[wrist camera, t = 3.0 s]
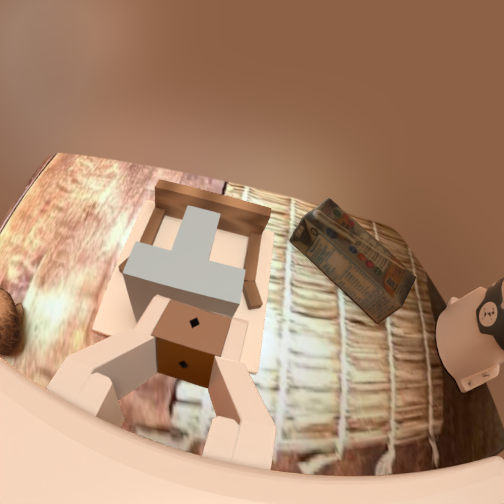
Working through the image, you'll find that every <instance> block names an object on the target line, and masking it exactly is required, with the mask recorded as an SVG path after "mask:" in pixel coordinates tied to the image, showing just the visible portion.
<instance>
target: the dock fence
mask: <svg viewBox="0 0 504 504" xmlns="http://www.w3.org/2000/svg"><path fill="white" fill-rule="evenodd" d="M188 205H189V206H193V207H197V208H201V209H205V210H209V211H213V212H216V213H220V218H219V222H218V226H217V229H220V230H224V231H228V232H231V233H235V234H239V235H243V236H247V237H249V240H248V246H247V251H246V257H245V263H244V269H245V270H246V271H245V277H244V283H243V289H242V291H243V294H244V297H245V301H246V304H247V307H248V310H252V309H257V308H260V307H261V306H262V305H263V302H262V299H261V297H260V294H259V291H258V288H257V285H256V282H255V280H256V273H257V266H258V259H259V251H260V244H261V237H262V233H263V231H264V229H265V227H266V225H267V223H268V220H269V218H270V214H271V208H268V207H265V206H261V205H257V204H254V203H250V202H247V201H243V200H239V199H236V198H232V197H228V196H224V195H220V194H217V193H213V192H209V191H205V190H201V189H197V188H193V187H189V186H185V185H181V184H177V183H173V182H168V181H164V180H160V179H159V181H158V182H157V184H156V186H155V208H154V210H153V212H152V215H151V217H150V219H149V221H148V223H147V225H146V228H145V230H144V232H143V235H142V237H141V239H140V241H139V242H141V243H145V244H148V245H152V246H153V243H154V241H155V238H156V236H157V233H158V231H159V229H160V226H161V224H162V221H163V219H164V217H165V216H169V217H173V218H177V219H181V220H182V219H183V217H184V214H185V211H186V209H187V206H188ZM128 258H129V257H128ZM128 258H127V259H126V260H125V261H123V262H122V263H121V264H120V265H119V266H118V267H119V271H120V272H121V273H122V274H123V270H124V268H125V265H126V263H127V260H128Z"/></svg>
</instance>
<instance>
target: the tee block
mask: <svg viewBox="0 0 504 504" xmlns="http://www.w3.org/2000/svg"><path fill="white" fill-rule="evenodd" d="M219 218H220V213H216V212H213V211H209V210H205V209H201V208H197V207H193V206H189V205H188V206H187V209H186V211H185V214H184V217H183V219H182V222H181V225H180V227H179V230H178V233H177V236H176V238H175V241H174V244H173V247H172V250H167V249H163V248H160V247H156V246H152V245H148V244H145V243H141V242H137V241H136V242H135V244H134V246H133V249H132V251H131V253H130V256H129V258H128V260H127V263H126V265H125V268H124V270H123V277H124V281H125V285H126V288H127V292H128V296H129V299H130V303H131V306H132V310H133V313H134V316H135V319H136V323H138V321H139V320H140V318H141V316H142V315H143V313H144V311H145V310H146V308H147V307H148V305H149V304H150V302H151V300H152V299H153V297H154V296H156V295H157V294H158V295H160V296H163V297H166V298H169V299H173V300H176V301H179V302H182V303H185V304H188V305H191V306H194V307H197V308H200V309H205V310H209V311H212V312H216V313H220V314H223V315H227V316H231V317H232V318H233V316H234V314H235V312H236V310H237V309H238V307H239V305H240V301H241V295H242V289H243V283H244V277H245V271H246V270H245V269H241V268H237V267H233V266H229V265H225V264H221V263H217V262H213V261H209V258H210V254H211V249H212V245H213V242H214V238H215V234H216V230H217V226H218V222H219Z"/></svg>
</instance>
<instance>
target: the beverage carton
mask: <svg viewBox="0 0 504 504" xmlns="http://www.w3.org/2000/svg"><path fill="white" fill-rule="evenodd" d="M290 242H291V243H293V244H294V245H295V246H296V247H297V248H298V249H299V250H300V251H301V252H302V253H304V254H305V255H306V256H307V257H308V258H309V259H310V260H311V261H312V262H313V263H314V264H315V265H316V266H317V267H318V268H320V269H321V270H322V271H323V272H324V273H325V274H326V275H327V276H328V277H329V278H330V279H332V280H333V281H334V282H335V283H336V284H337V285H338V286H339V287H340V288H341V289H342V290H343V291H344V292H346V293H347V294H348V295H349V296H350V297H351V298H352V299H353V300H354V301H355V302H356V303H357V304H358V305H359V306H360V307H361V308H362V309H364V310H365V311H366V312H367V313H368V314H369V315H370V316H371V317H372V318H373V319H374V320H375V321H376V322H377V323H379V322H381V321H383V320H384V319H385V318H387V317H388V316H390V315H391V314H393V313H394V312H395V311H397V310H398V309H399V308H400V307H402V305H403V303H404V301H405V299H406V298H407V295H408V294H409V291H410V289H411V287H412V285H413V283H414V281H415V279H416V277H415V276H414V275H413V274H412V273H411V272H410V271H409V270H408V269H407V268H406V267H405V266H404V265H403V264H402V263H401V262H400V261H399V260H398V259H397V258H396V257H395V256H394V255H393V254H391V253H390V252H389V251H388V250H387V249H386V248H385V247H384V246H383V245H382V244H381V243H379V242H378V241H377V240H376V239H375V238H374V237H373V236H372V235H371V234H369V233H368V232H367V231H366V230H365V229H364V228H363V227H362V226H361V225H359V224H358V223H357V222H356V221H355V220H354V219H353V218H351V217H350V216H349V215H348V214H347V213H346V212H345V211H343V210H342V209H341V208H340V207H339V206H338V205H337V204H336V203H334V202H333V201H332V200H331V199H327V200H325V201H324V202H322V203H321V204H320V205H319V206H317V207H316V208H314V209H313V210H311V211H310V212H308V213H307V214H306V215H304V216H303V217H302V219H301V221H300V223H299V225H298V226H297V228H296V229H295V231H294V232H293V235H292V236H291V238H290Z"/></svg>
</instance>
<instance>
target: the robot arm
mask: <svg viewBox="0 0 504 504" xmlns="http://www.w3.org/2000/svg"><path fill="white" fill-rule="evenodd" d="M248 324H249V323H248V321H247V320H243V319H239V318H235V317H233V318H232V317H231V316H227V315H223V314H220V313H216V312H212V311H209V310H205V309H200V308H197V307H194V306H191V305H188V304H185V303H182V302H179V301H176V300H173V299H169V298H166V297H163V296H160V295H158V294H157V295H156V296H154V297H153V299H152V300H151V302H150V304H149V305H148V307H147V308H146V310H145V311H144V313H143V315H142V316H141V318H140V320H139V321H138V323H137V324H136V326H135V328H134V329H132V328H128V329H126V330H123V331H121V332H119V333H117V334H115V335H113V336H110V337H108V338H106V339H104V340H102V341H100V342H97V343H95V344H93V345H91V346H89V347H86V348H84V349H82V350H80V351H78V352H75V353H73V354H71V355H69V356H67V357H66V359H65V360H64V362H63V363H62V365H61V366H60V368H59V369H58V371H57V372H56V374H55V375H54V377H53V378H52V380H51V381H50V383H49V385H48V386H47V388H44V387H42V386H41V385H39V384H38V383H36V382H35V381H33V380H32V379H30V378H29V377H27V376H26V375H24V374H23V373H21V372H20V371H19V370H17V369H16V368H14V367H13V366H12V365H10V364H9V363H8V362H6V361H5V360H4V359H2V358H1V357H0V504H504V460H503V459H502V458H501V457H499V456H493V457H489V458H486V459H482V460H478V461H474V462H470V463H466V464H462V465H457V466H452V467H447V468H442V469H436V470H429V471H422V472H415V473H406V474H395V475H380V476H324V475H308V474H297V473H288V472H280V471H272V470H271V463H272V456H273V449H274V442H275V434H276V426H275V424H274V422H273V420H272V418H271V416H270V414H269V412H268V410H267V408H266V406H265V404H264V402H263V400H262V398H261V396H260V394H259V392H258V390H257V388H256V386H255V384H254V382H253V380H252V378H251V376H250V374H249V372H248V370H247V368H246V366H245V364H244V363H240V359H241V354H242V350H243V346H244V341H245V337H246V333H247V328H248ZM436 341H437V347H438V351H439V355H440V358H441V360H442V362H443V364H444V366H445V368H446V370H447V371H448V372H449V373H450V375H451V376H452V377H453V378H454V379H455V380H456V382H457V384H458V387H459V389H460V390H461V392H462V393H465V392H467V391H469V390H471V389H473V388H475V387H477V386H479V385H481V384H483V383H485V382H487V381H489V380H491V379H492V378H494V377H496V376H497V375H498V373H499V366H500V364H502V363H504V278H502V279H500V280H499V281H497V282H495V283H494V284H493V285H492V286H491V287H489V288H488V289H485V288H483V287H479V288H477V289H476V290H474V291H472V292H471V293H469V294H467V295H466V296H464V297H462V298H461V299H458V298H456V297H452V298H450V299H449V300H448V303H447V307H446V309H445V310H444V311H443V312H442V313H441V314H440V316H439V318H438V321H437V326H436ZM157 372H158V373H161V374H164V375H167V376H170V377H174V378H177V379H180V380H183V381H186V382H189V383H192V384H195V385H199V386H202V387H205V388H208V391H209V394H210V398H211V401H212V404H213V407H214V410H215V413H216V416H217V417H215V418H213V420H212V423H211V427H210V430H209V433H208V437H207V440H206V444H205V447H204V450H203V454H202V456H200V455H196V454H193V453H189V452H186V451H182V450H179V449H176V448H173V447H170V446H167V445H164V444H161V443H158V442H155V441H153V440H150V439H147V438H145V437H142V436H139V435H137V434H134V433H132V432H129V431H127V430H125V429H122V428H121V427H122V424H123V422H124V420H125V418H124V415H123V413H122V410H121V407H120V404H119V402H118V400H119V399H121V398H122V397H124V396H125V395H127V394H128V393H130V392H131V391H133V390H134V389H136V388H137V387H139V386H140V385H142V384H143V383H145V382H146V381H147V380H149V379H150V378H152V377H153V376H155V375H156V374H157Z"/></svg>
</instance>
